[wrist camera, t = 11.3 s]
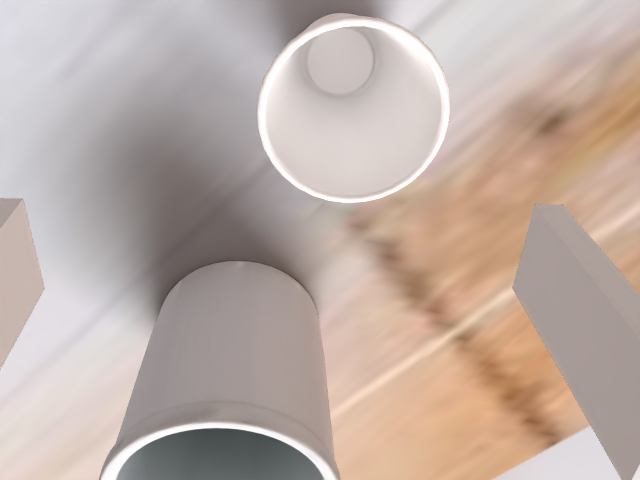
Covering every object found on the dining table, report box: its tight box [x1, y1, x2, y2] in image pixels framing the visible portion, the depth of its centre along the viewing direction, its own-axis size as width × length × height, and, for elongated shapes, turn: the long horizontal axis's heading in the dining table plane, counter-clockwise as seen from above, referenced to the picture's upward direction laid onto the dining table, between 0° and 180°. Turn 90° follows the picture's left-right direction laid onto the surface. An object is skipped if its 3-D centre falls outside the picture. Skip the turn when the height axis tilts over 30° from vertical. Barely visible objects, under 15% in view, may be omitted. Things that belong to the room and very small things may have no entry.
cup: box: [257, 13, 450, 203], centre depth 35 cm, size 10×10×11 cm
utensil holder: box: [99, 261, 341, 480], centre depth 44 cm, size 15×15×18 cm
